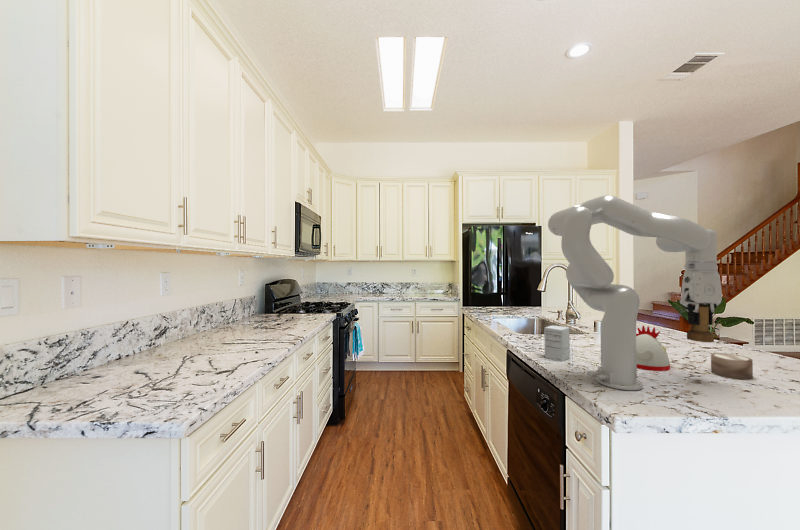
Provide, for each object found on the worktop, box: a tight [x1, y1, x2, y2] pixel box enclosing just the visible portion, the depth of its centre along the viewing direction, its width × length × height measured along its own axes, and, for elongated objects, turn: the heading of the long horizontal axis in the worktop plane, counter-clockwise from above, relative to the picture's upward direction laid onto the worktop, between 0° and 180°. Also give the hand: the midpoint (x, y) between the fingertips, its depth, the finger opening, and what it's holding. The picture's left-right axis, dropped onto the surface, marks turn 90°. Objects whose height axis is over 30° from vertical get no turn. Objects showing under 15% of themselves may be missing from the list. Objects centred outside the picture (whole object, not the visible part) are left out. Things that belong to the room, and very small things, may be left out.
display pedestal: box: [710, 352, 754, 381], centre depth 112 cm, size 10×10×6 cm
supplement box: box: [543, 324, 571, 362], centre depth 134 cm, size 7×7×13 cm
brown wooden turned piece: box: [686, 303, 715, 343], centre depth 106 cm, size 7×6×18 cm
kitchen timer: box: [636, 325, 671, 372], centre depth 123 cm, size 14×14×15 cm
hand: (700, 323), depth 106 cm, fingers closed on brown wooden turned piece, 3 cm apart
